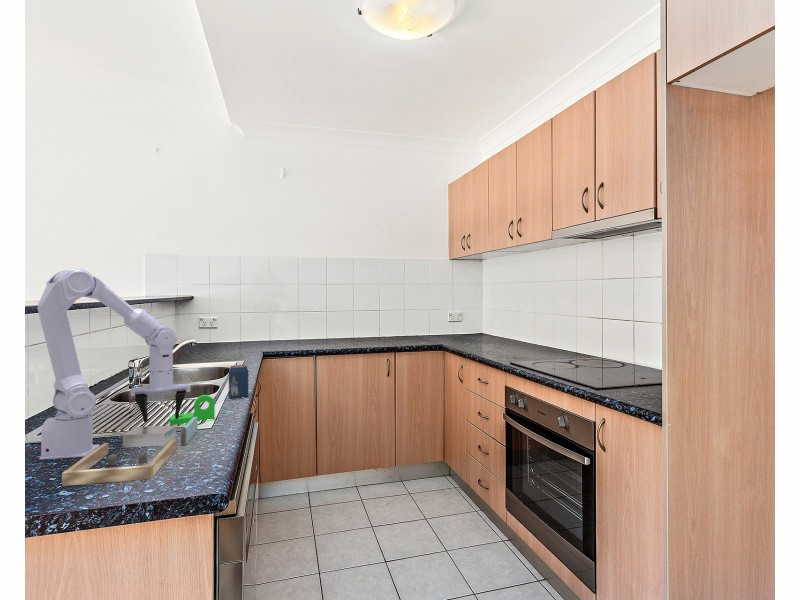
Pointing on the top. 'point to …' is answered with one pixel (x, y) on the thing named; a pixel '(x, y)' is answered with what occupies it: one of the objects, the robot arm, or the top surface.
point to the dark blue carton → (238, 381)
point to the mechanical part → (196, 411)
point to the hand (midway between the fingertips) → (161, 419)
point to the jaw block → (149, 436)
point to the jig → (84, 476)
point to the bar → (191, 428)
